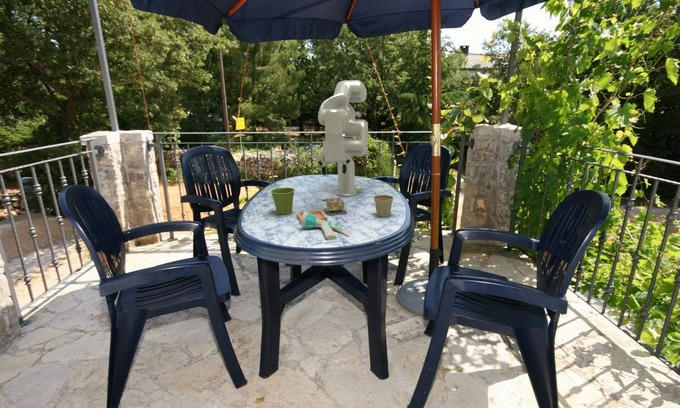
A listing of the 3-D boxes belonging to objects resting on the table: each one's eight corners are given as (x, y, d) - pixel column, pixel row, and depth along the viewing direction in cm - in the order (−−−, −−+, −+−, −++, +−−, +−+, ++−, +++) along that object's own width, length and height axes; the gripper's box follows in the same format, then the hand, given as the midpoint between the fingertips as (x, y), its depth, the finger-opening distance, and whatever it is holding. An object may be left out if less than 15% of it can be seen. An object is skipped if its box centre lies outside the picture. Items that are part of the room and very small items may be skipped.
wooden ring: (340, 205, 173) (340, 197, 172) (344, 209, 167) (344, 201, 166) (326, 206, 171) (326, 198, 170) (330, 210, 165) (329, 202, 164)
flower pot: (380, 219, 158) (380, 201, 155) (369, 214, 166) (369, 196, 163) (397, 216, 162) (398, 198, 159) (385, 210, 170) (386, 193, 167)
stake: (341, 208, 175) (341, 195, 173) (347, 213, 167) (346, 200, 165) (324, 210, 173) (323, 197, 171) (328, 215, 164) (328, 202, 162)
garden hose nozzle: (351, 228, 137) (338, 209, 155) (307, 229, 132) (299, 209, 150) (349, 245, 139) (336, 223, 157) (306, 246, 134) (298, 224, 152)
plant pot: (286, 207, 178) (285, 186, 175) (301, 212, 170) (300, 190, 167) (267, 212, 170) (265, 190, 167) (281, 218, 162) (279, 194, 159)
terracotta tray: (321, 214, 167) (321, 209, 166) (327, 221, 156) (327, 217, 155) (297, 216, 164) (297, 212, 163) (301, 224, 153) (301, 220, 152)
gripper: (349, 136, 165) (349, 171, 170) (313, 137, 161) (314, 174, 166) (353, 137, 158) (354, 174, 163) (316, 139, 154) (317, 177, 159)
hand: (334, 174), depth 164 cm, fingers open, 9 cm apart
